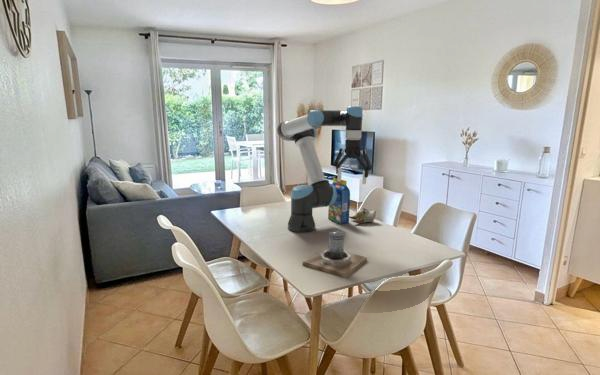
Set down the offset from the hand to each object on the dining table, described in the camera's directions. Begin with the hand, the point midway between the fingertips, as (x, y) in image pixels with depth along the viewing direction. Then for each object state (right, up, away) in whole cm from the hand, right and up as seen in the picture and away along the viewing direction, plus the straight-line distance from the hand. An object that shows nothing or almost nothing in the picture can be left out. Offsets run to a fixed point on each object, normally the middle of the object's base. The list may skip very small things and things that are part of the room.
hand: (351, 182), depth 176 cm
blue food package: (-3, -22, +34) cm, 41 cm away
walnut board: (-11, -34, -25) cm, 44 cm away
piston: (-10, -33, -25) cm, 43 cm away
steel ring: (-10, -33, -26) cm, 43 cm away
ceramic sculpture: (+11, -23, +32) cm, 41 cm away
